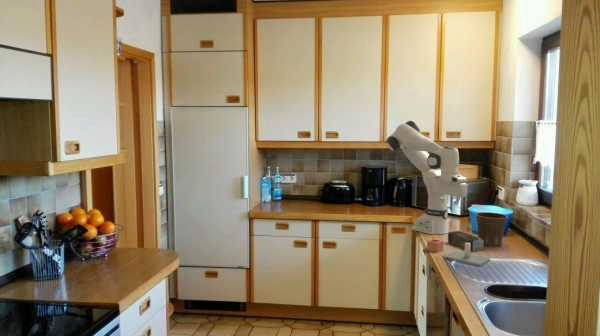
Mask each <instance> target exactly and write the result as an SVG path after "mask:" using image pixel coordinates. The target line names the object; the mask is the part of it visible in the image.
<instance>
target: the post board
mask: <svg viewBox="0 0 600 336" xmlns="http://www.w3.org/2000/svg"><path fill="white" fill-rule="evenodd" d="M470 246H471V243H465V248H464V252H463V251H457V250H454V251H452V252H450V253H448V254H446V255H444V256H443V258H444V259H445V258H448V259H447V260H449V259H453V260H456V261H455V262H459V263H462V264H467V265H472V266H476V267H482V266H484V265H485V264H487V263H489V262H490V261H491V257H485V256H482V255H475V254H471V251H470ZM453 260H452V261H453Z"/></svg>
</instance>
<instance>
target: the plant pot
mask: <svg viewBox="0 0 600 336" xmlns="http://www.w3.org/2000/svg"><path fill="white" fill-rule="evenodd" d="M475 216H476V222H477V237H478V238H481V239H483V240H484V246H487V245H488V246H489V247H500V246H501V245H503V237H504V232H505V226H506V224H507V220H508V217H509V216H508V215H506V214H504V213H498V212H491V211H490V212H489V211H488V212H487V211H485V212H484V211H483V212H482V211H481V212H476V213H475Z"/></svg>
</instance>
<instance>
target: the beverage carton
mask: <svg viewBox="0 0 600 336" xmlns="http://www.w3.org/2000/svg"><path fill="white" fill-rule="evenodd" d="M447 243H449V244H452V245H454V246H457V247H460V248H462V249H465V243H471V246H470V250H471V251H470V252H478V251H477V250H479V251H484V246H485V245H484V240H483V239H481V238H478V236H475V235H473V234H469V233H467V232H463V231H460V230H457V231H454V230H453V231H449V232H448V233H447Z"/></svg>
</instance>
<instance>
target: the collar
mask: <svg viewBox="0 0 600 336" xmlns="http://www.w3.org/2000/svg"><path fill="white" fill-rule="evenodd" d="M426 244H427V245H426V251H429V252H433V253H439V252H442V251H443V250H444V240H440V239H437V238H431V239H429V240H427V243H426Z"/></svg>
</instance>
